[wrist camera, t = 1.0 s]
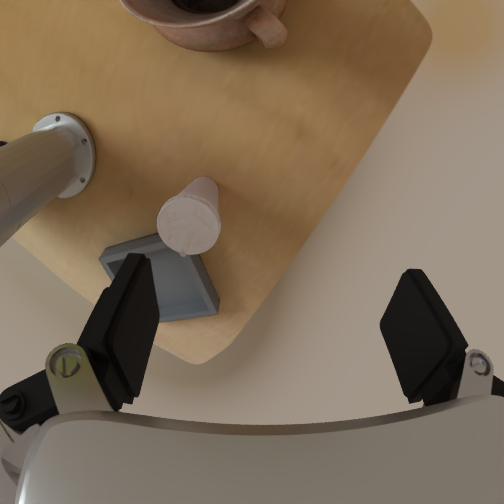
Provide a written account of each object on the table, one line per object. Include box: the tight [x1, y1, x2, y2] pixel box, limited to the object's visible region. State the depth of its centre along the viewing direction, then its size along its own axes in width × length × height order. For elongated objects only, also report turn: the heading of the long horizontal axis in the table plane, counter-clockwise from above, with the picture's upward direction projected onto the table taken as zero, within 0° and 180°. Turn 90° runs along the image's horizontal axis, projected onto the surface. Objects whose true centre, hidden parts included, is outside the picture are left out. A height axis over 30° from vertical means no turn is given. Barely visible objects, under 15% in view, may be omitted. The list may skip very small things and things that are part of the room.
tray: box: [99, 233, 220, 323], centre depth 42 cm, size 14×14×3 cm
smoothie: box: [157, 177, 221, 257], centre depth 30 cm, size 6×6×14 cm
